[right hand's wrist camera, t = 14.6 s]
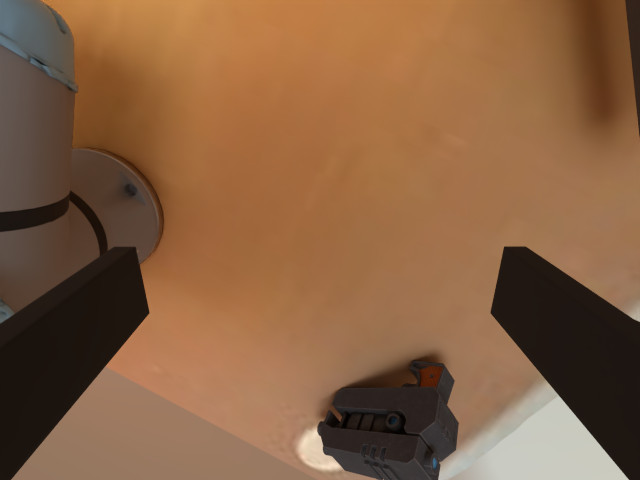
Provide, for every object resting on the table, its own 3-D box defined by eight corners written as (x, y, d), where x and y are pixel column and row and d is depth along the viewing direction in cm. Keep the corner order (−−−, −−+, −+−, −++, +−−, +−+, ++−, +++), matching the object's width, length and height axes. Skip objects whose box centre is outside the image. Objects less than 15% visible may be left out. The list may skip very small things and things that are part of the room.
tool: (467, 381, 47) (451, 502, 36) (356, 381, 59) (319, 472, 49) (447, 350, 45) (425, 468, 35) (337, 357, 57) (295, 446, 47)
